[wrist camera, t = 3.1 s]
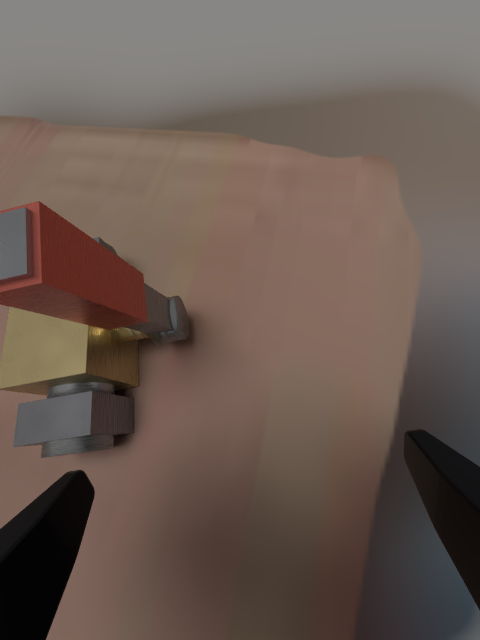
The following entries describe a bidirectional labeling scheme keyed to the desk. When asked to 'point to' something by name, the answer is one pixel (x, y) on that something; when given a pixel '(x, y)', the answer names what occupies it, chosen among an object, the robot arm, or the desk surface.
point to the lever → (78, 278)
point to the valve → (69, 381)
